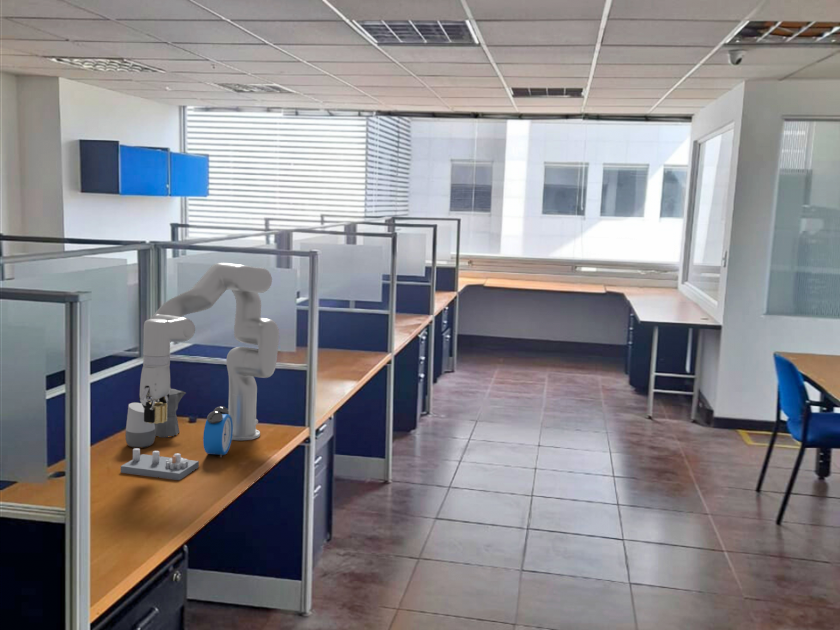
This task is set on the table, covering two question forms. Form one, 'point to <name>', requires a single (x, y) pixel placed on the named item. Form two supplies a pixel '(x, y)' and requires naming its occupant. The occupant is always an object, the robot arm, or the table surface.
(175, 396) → the coffeepot
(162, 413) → the brass gear
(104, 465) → the table surface
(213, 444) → the alarm clock
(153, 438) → the smart speaker
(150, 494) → the table surface
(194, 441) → the table surface
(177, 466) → the gear board
